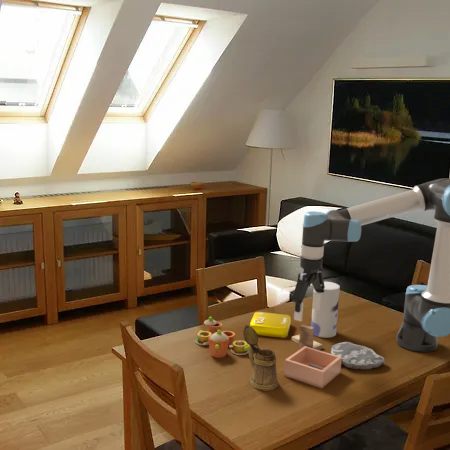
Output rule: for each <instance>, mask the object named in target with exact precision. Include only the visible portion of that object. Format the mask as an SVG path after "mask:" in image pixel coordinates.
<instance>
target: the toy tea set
mask: <svg viewBox="0 0 450 450" xmlns="http://www.w3.org/2000/svg"><path fill="white" fill-rule="evenodd" d="M203 324H204V325H205V326H207V330H202V329H200V330H199V331H198V332H197V335H196V336H195V337H196V339H195V343H196V344H197V345H199V346H208V347H209V354H210V356H212V357H213V358H225V357H226V356H227V354H228V348H230V352H231V354H233V355H236V356H245V355H247V354H249V349H250V347H251V346H250V345H249V344H247V342H246V341H245V340H244V339H243V340H241V339H239V340H235V337H236V333H235V332H234V331H231V330H223V331H222V327H223V323H222V322H221V321H217V320H215V319H213V317H212V316H209V317H208V319H206V320H204V322H203Z"/></svg>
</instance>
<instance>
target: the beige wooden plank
mask: <svg viewBox="0 0 450 450" xmlns="http://www.w3.org/2000/svg"><path fill="white" fill-rule="evenodd" d="M299 338H300V333H299V334H297V335H293V336H291V341H292V342H295V343H297V344H298V345H299ZM313 349H316V350H320V351H321V350H322V349H324V344H323V343H320V342H318V341H315V340H314V339H313Z"/></svg>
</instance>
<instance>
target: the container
mask: <svg viewBox="0 0 450 450" xmlns="http://www.w3.org/2000/svg"><path fill="white" fill-rule="evenodd" d="M321 286H322V285H321ZM324 286H325V289H323V290H324V293H322V292H321V301H320V310H319V311H318V310H315V309H312V308H311V323H310V326H311V327H314V336H315V337H318V338H327V339H329V338H334V337H335V336H336V335H337V327H338V316H339V315H338V314H339V313H338V312H339V300H340V289H341V288H340V287H341V286H340V285H339V284H338V283H335V282H332V281H324ZM312 290H313V292H314V291H315V289H314V288H313V289H312ZM315 292H316V291H315Z"/></svg>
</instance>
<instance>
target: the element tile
mask: <svg viewBox="0 0 450 450" xmlns="http://www.w3.org/2000/svg"><path fill="white" fill-rule="evenodd" d="M291 318H292V317H291V316H290V315H289V314H282V313H274V312H264V311H256V312H254V313H253V316H252V318H251V319H250V322H249V326H251V327H252V328H253V329H254V330H255V331H256V333H257V335H258V336H264V337H272V338H273V337H274V338H283V339H285V338H287V337H288V336H289V333H290V332H289V331H290V328H291V321H292V320H291Z"/></svg>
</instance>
